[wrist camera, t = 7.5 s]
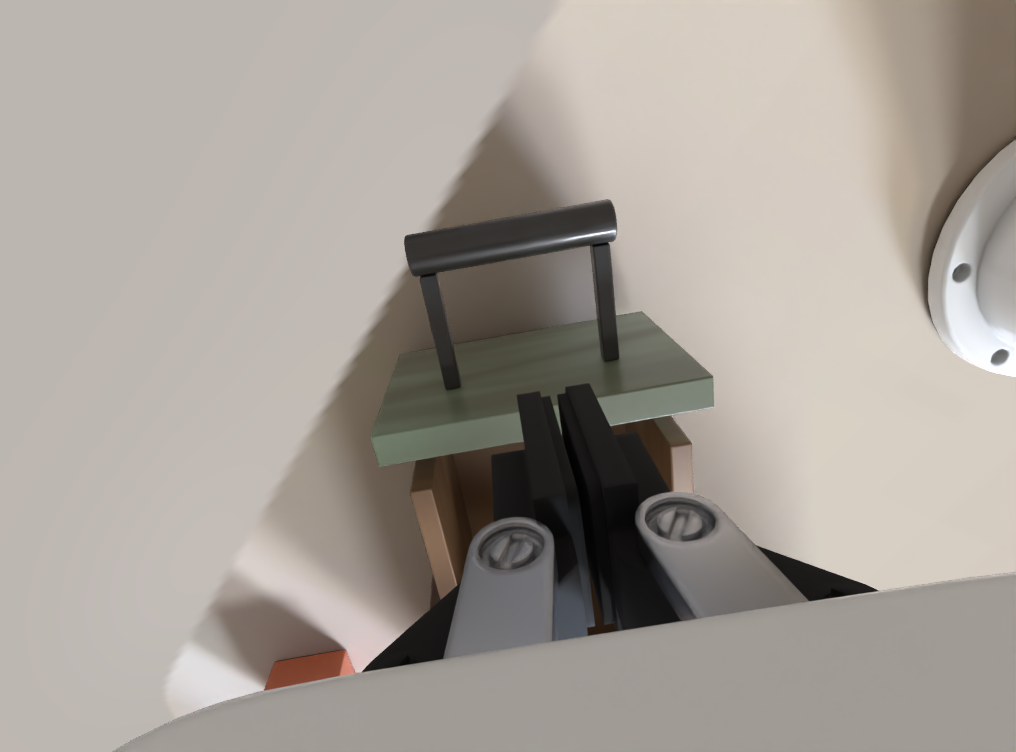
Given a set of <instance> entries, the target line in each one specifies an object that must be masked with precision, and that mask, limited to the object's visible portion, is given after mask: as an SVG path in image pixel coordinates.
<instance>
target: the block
mask: <svg viewBox="0 0 1016 752" xmlns="http://www.w3.org/2000/svg"><path fill="white" fill-rule="evenodd" d="M349 674H355V671H354V669H353V666H352V664H351V662H350V659H349V657H348V654H347V652H346V650H340V651H334V652H329V653H323V654H317V655H312V656H306V657H300V658H294V659H289V660H283V661H277V662H275V663H274V665H273V668H272V671H271V673H270V676H269V678H268V681H267V683H266V686H265V689H264V691H265V690H270V689H276V688H281V687H286V686H291V685H296V684H301V683H306V682H311V681H316V680H321V679H327V678H332V677H337V676H343V675H349Z"/></svg>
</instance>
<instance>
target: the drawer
mask: <svg viewBox="0 0 1016 752" xmlns="http://www.w3.org/2000/svg"><path fill="white" fill-rule="evenodd" d="M616 235H617V220H616V213H615V209H614V206H613V204H612V202H611V200H608V199H606V200H601V201H595V202H590V203H584V204H579V205H573V206H567V207H562V208H556V209H551V210H545V211H539V212H534V213H528V214H523V215H517V216H512V217H506V218H500V219H495V220H489V221H484V222H478V223H472V224H467V225H461V226H456V227H450V228H444V229H439V230H433V231H428V232H422V233H417V234H411V235H407V236H405V240H404V245H405V252H406V257H407V261H408V265H409V268H410V271H411V273H412V275H413V276H414V277H418V276H420V283H421V288H422V292H423V296H424V300H425V305H426V309H427V313H428V318H429V322H430V326H431V330H432V335H433V339H434V343H435V347H436V348H433V349H427V350H422V351H416V352H410V353H405V354H400V355H399V358H398V361H397V364H396V367H395V369H394V372H393V375H392V378H391V381H390V383H389V386H388V389H387V392H386V395H385V397H384V400H383V403H382V406H381V409H380V411H379V414H378V417H377V420H376V423H375V425H374V428H373V431H372V434H371V437H370V439H371V442H372V445H373V449H374V452H375V455H376V458H377V461H378V465H379V466H380V467H382V466H388V465H393V464H399V463H405V462H410V461H416V462H415V467H414V473H413V478H412V484H411V489H410V495H411V499H412V502H413V506H414V509H415V513H416V516H417V520H418V523H419V527H420V530H421V534H422V537H423V541H424V544H425V547H426V551H427V554H428V558H429V561H430V565H431V568H432V572H433V575H434V579H435V582H436V586H437V589H438V593H439V596H440V600H441V599H442V598H443V597H445V596H446V595H447V594H448V593H449V592H450V591H451V590H452V589H454V588H455V587H456V586H457V585H458V584H459V583H460V582H461V580H462V576H463V571H464V567H465V563H466V558H467V554H468V550H469V546H470V544H471V542H472V540H473V538H474V537H475V535H476V534H477V533H478V532H479V531H480V530H481V529H483V528H484V527H486V526H487V525H489V524H490V523H493V522H494V513H493V489H492V464H491V455H493V454H499V453H505V452H512V451H518V450H524V449H525V446H524V440H523V433H522V427H521V421H520V414H519V408H518V402H517V395H518V394H524V393H531V392H537V391H540V394H541V397H545V396H550V397H551V401H552V404H553V408H554V411H555V414H556V418H557V421H558V424H559V428H560V431H561V423H560V416H559V408H558V400H557V394H563V393H565V387H567V386H574V385H580V384H586V383H589V384H590V385H591V388H592V390H593V392H594V394H595V396H596V398H597V400H598V402H599V404H600V406H601V408H602V410H603V412H604V414H605V416H606V418H607V421H608V423H609V425H610V427H611V429H612V431H613V433H614V435H617V434H623V433H629V432H636V433H637V434H638V436H639V437H640V439H641V441H642V443H643V444H644V446H645V448H646V450H647V451H648V453H649V455H650V457H651V458H652V460H653V462H654V464H655V465H656V467H657V469H658V471H659V472H660V474H661V476H662V478H663V479H664V481H665V483H666V485H667V487H668V488H669V490H670V492H687V493H691V494H693V471H692V443H691V441H690V440H689V439H688V438H687V436H686V435H685V434H684V432H683V431H682V430H681V428H680V427H679V426H678V425H677V423H676V422H675V421H674V419H673V418H672V417H671V415H675V414H681V413H687V412H692V411H698V410H704V409H709V408H713V407H714V391H713V376H712V375H711V374H710V373H709V372H708V371H707V370H706V369H705V368H704V367H702V366H701V365H700V364H699V363H698V362H697V361H696V360H695V359H694V358H693V357H692V356H690V355H689V354H688V353H687V352H686V351H685V350H684V349H683V348H682V347H681V346H679V345H678V344H677V343H676V342H675V341H674V340H673V339H672V338H671V337H670V336H668V335H667V334H666V333H665V332H664V331H663V330H662V329H661V328H660V327H659V326H658V325H656V324H655V323H654V322H653V321H652V320H651V319H650V318H649V317H648V316H647V315H645V314H644V313H643V312H642V311H641V312H635V313H629V314H624V315H618V316H616V310H615V298H614V287H613V275H612V263H611V252H610V245H609V243H608V242H613V241H614V240H615V239H616ZM586 246H590V253H591V263H592V272H593V282H594V292H595V302H596V312H597V319H596V320H590V321H584V322H579V323H573V324H568V325H562V326H556V327H551V328H545V329H540V330H534V331H528V332H523V333H517V334H511V335H506V336H500V337H495V338H489V339H483V340H478V341H472V342H466V343H461V344H455V345H453V341H452V337H451V332H450V328H449V323H448V319H447V314H446V310H445V305H444V300H443V296H442V291H441V287H440V282H439V278H438V273H440V272H446V271H451V270H457V269H462V268H468V267H474V266H479V265H485V264H490V263H496V262H502V261H507V260H513V259H518V258H524V257H530V256H535V255H541V254H546V253H552V252H558V251H563V250H569V249H574V248H580V247H586ZM561 435H562V431H561ZM588 571H589V568H588ZM589 579H590V587H591V595H592V603H593V611H594V620H595V626H593V627H587V632H588V636H591V635H597V634H603V633H610V632H616V629H615V625H614V623H612V624H606V625H604V623H603V620H602V617H601V613H600V609H599V606H598V602H597V598H596V594H595V591H594V587H593V583H592V579H591V575H590V572H589Z"/></svg>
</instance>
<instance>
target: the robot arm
mask: <svg viewBox="0 0 1016 752" xmlns="http://www.w3.org/2000/svg"><path fill="white" fill-rule="evenodd" d="M928 303H929V308H930V312H931V317H932V322H933V324H934V326H935V328H936V330H937V332H938V334H939V336H940V338H941V339H942V341H943V342H944V343H945V344H946V345H947V346H948V347H949V348H950V349H951V351H952V352H953V353H955V354H956V355H958V356H959V357H961V358H962V359H964V360H965V361H967V362H969V363H971V364H973V365H976V366H978V367H980V368H983V369H985V370H987V371H990V372H994V373H999V374H1003V375H1008V376H1016V139H1015V140H1014V141H1013V142H1011V143H1010V144H1009V145H1007V146H1006V147H1005V148H1004V149H1002V150H1001V151H1000V152H999V153H998V154H997V155H996V156H995V157H994V158H993V159H992V160H991V161H990V162H989V163H988V164H987V165H986V166H985V167H984V168H983V169H982V170H981V171H980V172H979V173H978V174H977V175H976V177H975V178H974V179H973V181H972V182H971V183H970V185H969V186H968V187H967V189H966V190H965V191H964V193H963V194H962V195H961V197H960V198H959V199H958V201H957V203H956V204H955V206H954V208H953V210H952V211H951V213H950V215H949V217H948V219H947V220H946V222H945V224H944V226H943V228H942V231H941V233H940V236H939V239H938V241H937V244H936V247H935V249H934V252H933V256H932V261H931V266H930V271H929V276H928ZM557 400H558V408H559V416H560V423H561V431H562V435H561V431H560V428H559V424H558V421H557V418H556V414H555V411H554V408H553V404H552V401H551V397H550V396H545V397H541V394H540V391H537V392H531V393H524V394H518V395H517V402H518V408H519V414H520V421H521V427H522V433H523V440H524V446H525V449H524V450H518V451H512V452H505V453H499V454H493V455H491V464H492V489H493V513H494V522H493V523H490V524H489V525H487V526H486V527H484V528H483V529H481V530H480V531H479V532H478V533H477V534H476V535H475V537H474V538H473V540H472V542H471V544H470V546H469V550H468V554H467V558H466V563H465V567H464V571H463V576H462V580H461V582H460V583H459V584H458V585H457V586H456V587H455V588H454V589H452V590H451V591H450V592H449V593H448V594H447V595H446V596H445V597H443V598H442V599H441V600H440V601H439V602H438V603H437V604H436V605H434V606H433V607H432V608H431V609H430V610H429V611H428V612H427V613H425V614H424V615H423V616H422V617H421V618H420V619H419V620H418V621H416V622H415V623H414V624H413V625H412V626H411V627H410V628H409V629H407V630H406V631H405V632H404V633H403V634H402V635H401V636H400V637H399V638H397V639H396V640H395V641H394V642H393V643H392V644H391V645H390V646H388V647H387V648H386V649H385V650H384V651H383V652H382V653H381V654H379V655H378V656H377V657H376V658H375V659H374V660H373V661H372V662H370V664H369V665H368V666H367V667H366V668H365V669H364V670H363V671H362V672H361V673H355V674H349V675H343V676H337V677H332V678H327V679H321V680H316V681H311V682H306V683H301V684H296V685H291V686H286V687H281V688H276V689H270V690H265V691H260V692H256V693H253V694H249V695H245V696H242V697H238V698H234V699H231V700H227V701H224V702H220V703H217V704H214V705H211V706H209V707H206V708H203V709H201V710H198V711H195V712H193V713H190V714H187V715H185V716H182V717H179V718H177V719H174V720H172V721H170V722H168V723H166V724H164V725H162V726H160V727H158V728H156V729H154V730H152V731H150V732H148V733H146V734H144V735H142V736H139V737H138V738H135V739H133V740H131V741H130V742H128V743H126V744H125V745H123V746H121V747H119V748H118V749H116V750H115V751H112V752H1016V572H1012V573H1003V574H995V575H987V576H978V577H970V578H962V579H955V580H949V581H942V582H935V583H929V584H922V585H915V586H909V587H902V588H896V589H889V590H882V591H878V590H876V589H874V588H872V587H870V586H867V585H865V584H862V583H860V582H857V581H854V580H851V579H848V578H846V577H843V576H840V575H837V574H834V573H832V572H829V571H826V570H823V569H820V568H818V567H815V566H812V565H809V564H806V563H803V562H801V561H798V560H795V559H792V558H789V557H787V556H784V555H781V554H778V553H775V552H773V551H770V550H767V549H764V548H761V547H759V546H756V545H755V544H754V543H753V542H752V541H751V540H750V539H749V538H748V537H747V536H746V535H745V534H744V533H743V532H742V531H741V530H740V529H739V528H738V527H737V525H736V524H735V523H734V522H733V521H732V520H731V519H730V518H729V517H728V516H727V515H726V514H725V513H724V512H723V511H722V510H721V509H720V508H719V507H718V506H717V505H715V504H714V503H713V502H712V501H710V500H708V499H706V498H704V497H701V496H699V495H696V494H691V493H687V492H670V490H669V488H668V487H667V485H666V483H665V481H664V479H663V478H662V476H661V474H660V472H659V471H658V469H657V467H656V465H655V464H654V462H653V460H652V458H651V457H650V455H649V453H648V451H647V450H646V448H645V446H644V444H643V443H642V441H641V439H640V437H639V436H638V434H637V433H636V432H629V433H623V434H617V435H614V433H613V431H612V429H611V427H610V425H609V423H608V421H607V418H606V416H605V414H604V412H603V410H602V408H601V406H600V404H599V402H598V400H597V398H596V396H595V394H594V392H593V390H592V388H591V385H590V384H589V383H586V384H580V385H574V386H567V387H565V393H563V394H557ZM588 568H589V571H588ZM589 572H590V575H591V579H592V583H593V587H594V591H595V594H596V598H597V602H598V606H599V609H600V613H601V617H602V620H603V623H604V625H606V624H612V623H614V625H615V629H616V632H610V633H603V634H597V635H591V636H588V632H587V627H593V626H595V620H594V611H593V603H592V595H591V587H590V579H589Z"/></svg>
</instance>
